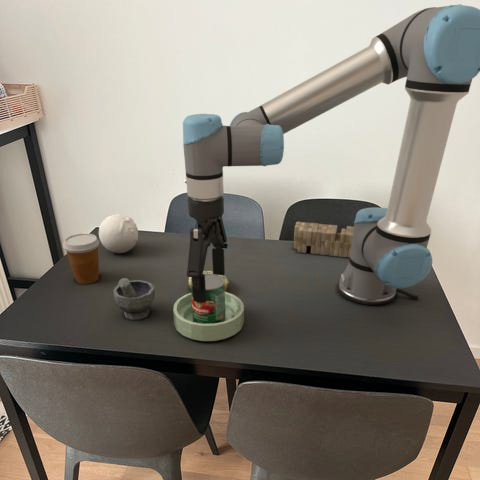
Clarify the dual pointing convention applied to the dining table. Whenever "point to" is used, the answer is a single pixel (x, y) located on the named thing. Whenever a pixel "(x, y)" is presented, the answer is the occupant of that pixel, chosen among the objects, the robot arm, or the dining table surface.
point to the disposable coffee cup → (83, 256)
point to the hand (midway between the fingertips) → (209, 287)
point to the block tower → (323, 239)
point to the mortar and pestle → (134, 297)
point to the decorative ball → (118, 233)
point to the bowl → (208, 331)
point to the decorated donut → (212, 273)
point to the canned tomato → (210, 301)
